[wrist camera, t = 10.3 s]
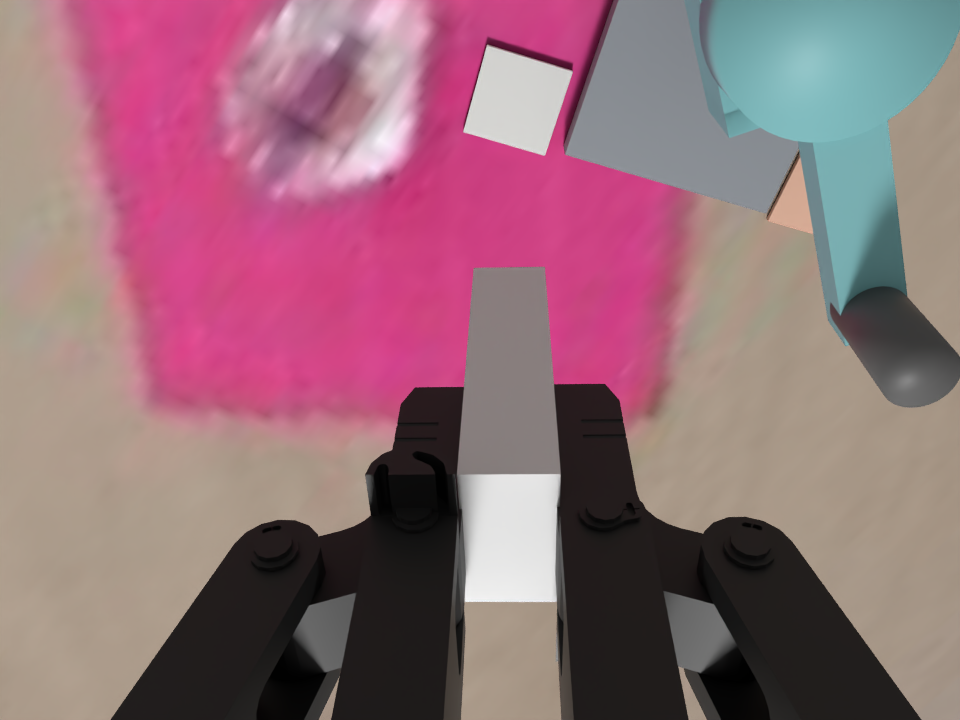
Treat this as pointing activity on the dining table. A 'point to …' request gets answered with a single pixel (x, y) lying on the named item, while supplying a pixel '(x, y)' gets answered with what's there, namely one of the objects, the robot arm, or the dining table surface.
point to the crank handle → (841, 151)
